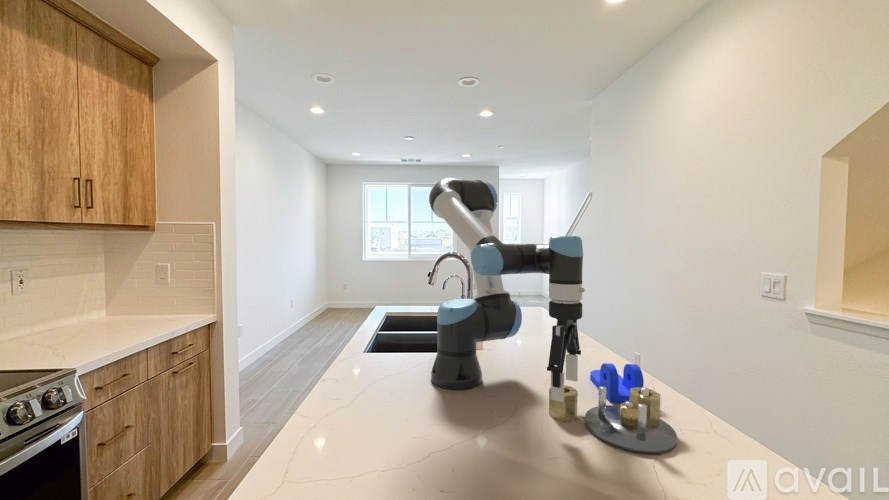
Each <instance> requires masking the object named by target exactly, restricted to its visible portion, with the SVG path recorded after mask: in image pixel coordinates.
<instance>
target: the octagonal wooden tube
mask: <svg viewBox="0 0 889 500" xmlns="http://www.w3.org/2000/svg"><path fill="white" fill-rule="evenodd" d="M548 391H549V393H548V394H549V397H548V414H549V415H550V416H551V417H552V418H553V419H555V420H559V421H562V422H572V421H576V418H577V417H578V392H579V391H578V390H577V389H576V388H574V387H572V386H570V385H565V384H564V402H560V401H556V400H551V386H550V387H549V389H548Z"/></svg>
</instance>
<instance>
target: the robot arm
mask: <svg viewBox="0 0 889 500" xmlns="http://www.w3.org/2000/svg"><path fill="white" fill-rule="evenodd" d="M428 197H429V198H428V202H429V206H430V209H431V210H432V212H433V213H434V215H435V216H437V217H438V218H440V219H441V220H444V222H446V224H447V225H448V226H449V227H450V228H451V230H452V231H453V232H454V233H455V234H456V235H457V237H458V238H459V239H460V240H461V242H462V243H463V244H464V245H465V247H466V248H467V249H468V250H469V256H470V263H471V266H472V272H473V277H474V283H475V288H476V295H475V296H474V297H473V298H455V299H450V300H447V301H445V302H442V303H441V304H440V305H439V306H438V308H437V317H436V322H437V324H436V325H437V328H436V330H437V331H436V332H437V334H436V335H437V336H436V337H437V338H436V339H437V340H436V341H437V342H436V343H437V347H436V349H437V351H436V356H435V359H434V362H433V365H432V369H431V373H430V374H431V375H430V377H431V378H430V380H431V382H432V383H433V384H434V386H435V385H436V386H437V387H439V388H443V389H447V390H453V391H454V390H455V391H456V390H457V391H459V390H461V391H462V390H468V389H472V388H475V387H478V386H479V385H481V383H482V381H483V372H482V368H481V365H480V361H479V358H478V355H477V343H483V342H488V341H489V342H491V341H496V340H505V339H507V338H512V337H515V335H516V334H517V333H519V330H520V329H521V326H522V322H523V321H522V320H523V314H522V309H521V307H520V305H519V304H518V302H517V301H515V300H513V299H511V295H510V292H509V291H507V290H506V289H505V288H504V283H503V279H502V276H503V275H513V274H514V275H518V274H520V275H521V274H522V275H523V274H524V275H525V274H546V275H548V276H549V277H548V299H549V300H550V301H549V302H548V315H549V317H550V318H553V319H556V325H552V327H551V328H552V331H551V343H550V350H549V358H548V365H547V366H546V371H547V372H550V387H551V400H556V401H560V402H564V385H565V380H567V381H571V382H578V368H579V367H578V366H579V365H578V360H579V359H578V355H579V356H581V354H582V350H580V341H579V339H580V338H579V331H578V320H580V319H582V318H583V303H582V302H581V301H582V300H583V293H585V292H586V289H585V288H584V287H583V263H584V262H583V261H584V260H583V259H584V249H583V240H582V238H581V237H580V236H577V235H556V236H553V235H552V236H551V237H550V238H549V241H548V242H549V243H548V244H545V243H544V244H543V243H540V244H539V243H525V244H524V243H522V244H521V243H520V244H519V243H518V244H517V243H516V244H514V243H512V244H511V243H509V244H508V243H507V244H506V243H503V242H502V241H501V240H500V239H499V238H498V237H496V235H495V234H494V233H493V228H492V222H491V219H492V218H493V217H494V212H495V211H496V209H497V207H498V204H497V203H498V200H499V199H498V193H497V191H496V188H495V187H494V185H493V184H491V183H490V182H488V181H485V180H484V181H483V180H480V179H475V180H473V179H465V178H452V177H447V178H444V179H442V180H439V181H438V182H436V183H435V184H434V185H433V187H432V188H431V190H430V193H429V196H428ZM564 365H565V371H564Z"/></svg>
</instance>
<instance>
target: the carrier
mask: <svg viewBox="0 0 889 500" xmlns="http://www.w3.org/2000/svg"><path fill="white" fill-rule="evenodd" d="M597 403H598V404H597V405H598V406H597V405H596V406H594V407H591V408H590V409H588V410H587V411H586V412H585V415H584V424H585V427H586V429H587V431H588V432H590V434H591V435H593V436H594V437H595V438H597V439H598V440H599V441H602V442H603V443H605V444H607V445H608V446H611V447H613V448H615V449H619V450H621V451H626V452H627V453H628V452H629V453H633V454H637V455H638V454H639V455H646V456H649V455H650V456H652V455H653V456H655V455H656V456H657V455H658V456H659V455H665V454H668V453H671V452H672V451H674V450H675V449H676V447H677V443H678V436H677V435H678V434H677V432H676V431H675V429H674V428H673V427H672V426H671V425H670V424H668V423H667V422H666V421H665V420H663V419H661V418H660V417H661V394H660V393H659V392H657V391H655V390H653V389H652V388H651V389H649V388H648V387H646V386H643V387H642V388H641V387H636V388H631V389H630V397H629V401H625V403H619V404H620V405H613V404H610V405H608V404H607V399H606V387H603V386H600V387H599V389H598V402H597Z"/></svg>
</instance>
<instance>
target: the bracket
mask: <svg viewBox="0 0 889 500" xmlns="http://www.w3.org/2000/svg"><path fill="white" fill-rule="evenodd" d="M589 374H590V376H589V379H590V382H591V383H592V384H593V385H594V386H595V387H596V388H597V390H599V387H600V386H603V387H606V401H608V402H609V404H610V403H611V404H613V403H614V404H622V403H625V401H629V397H630V389H631V388H636V387H641V388H642V387H644V385H645V384H644V381H645V380H644V374H643V372H642V369H641V367H640V366H639V365H638V364H636V363H626V364H625V365H624V367H623V373H622V374H623V376H621V375H620V374H619V372H618V370H617V368H616V366H615V364H614V363H605V362H604V363H601V366H600V369H593V370H591V371H590V373H589Z"/></svg>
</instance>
